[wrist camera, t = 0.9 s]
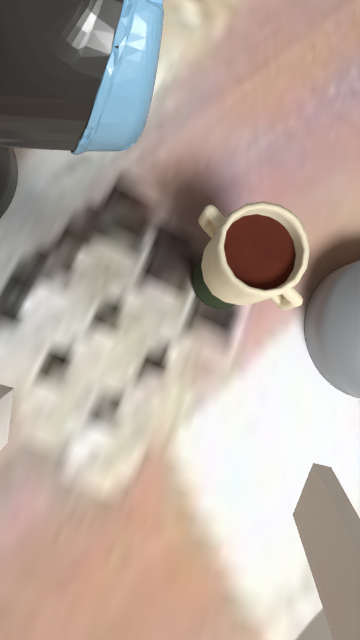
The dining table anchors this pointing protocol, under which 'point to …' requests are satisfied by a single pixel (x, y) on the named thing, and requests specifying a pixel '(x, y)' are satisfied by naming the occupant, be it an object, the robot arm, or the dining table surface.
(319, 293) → the plinth
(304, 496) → the robot arm
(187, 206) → the dining table surface
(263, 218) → the character mug
